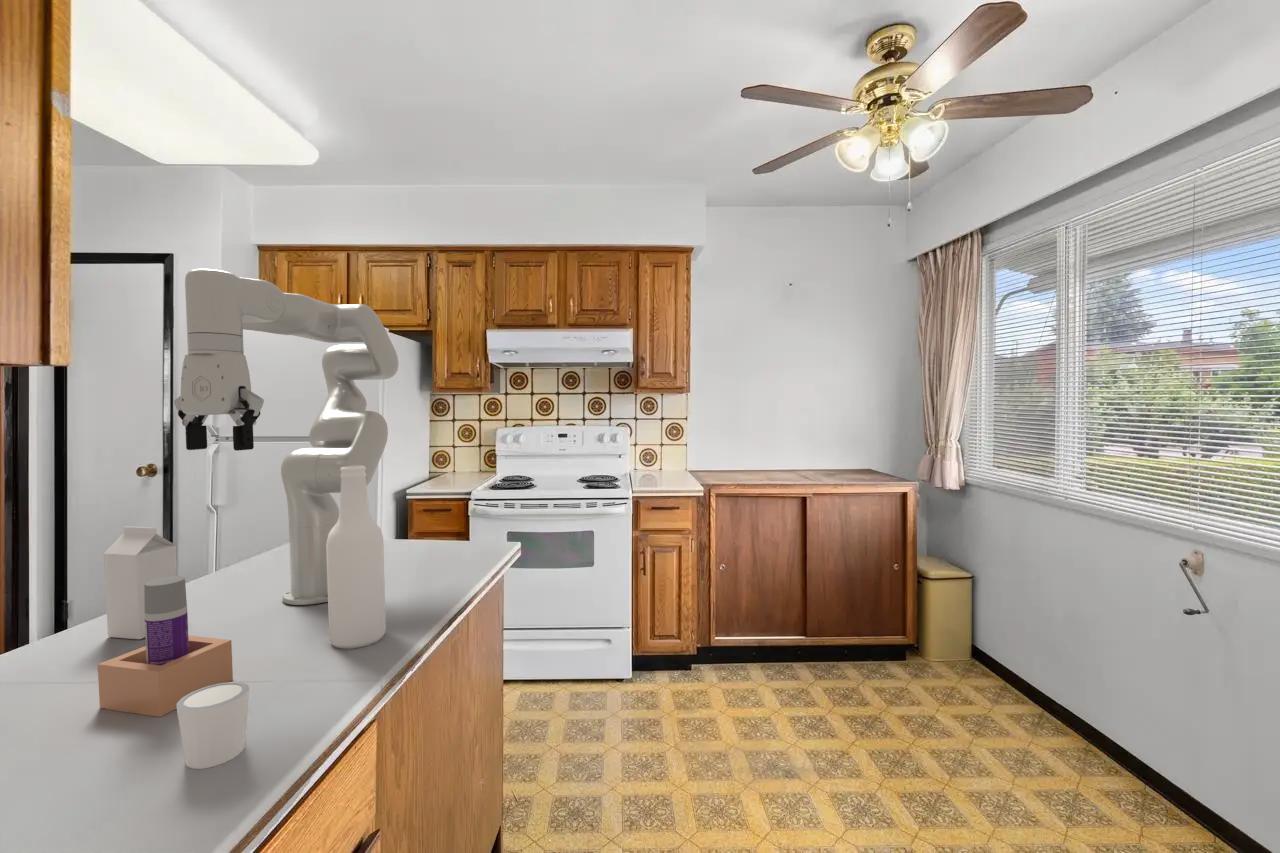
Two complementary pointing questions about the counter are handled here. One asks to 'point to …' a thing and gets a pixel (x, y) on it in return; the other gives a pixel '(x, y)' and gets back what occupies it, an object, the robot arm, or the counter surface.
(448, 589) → the counter surface
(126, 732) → the counter surface
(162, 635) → the container
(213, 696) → the white cup
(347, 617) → the alcohol
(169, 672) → the tan open box
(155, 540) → the milk carton
